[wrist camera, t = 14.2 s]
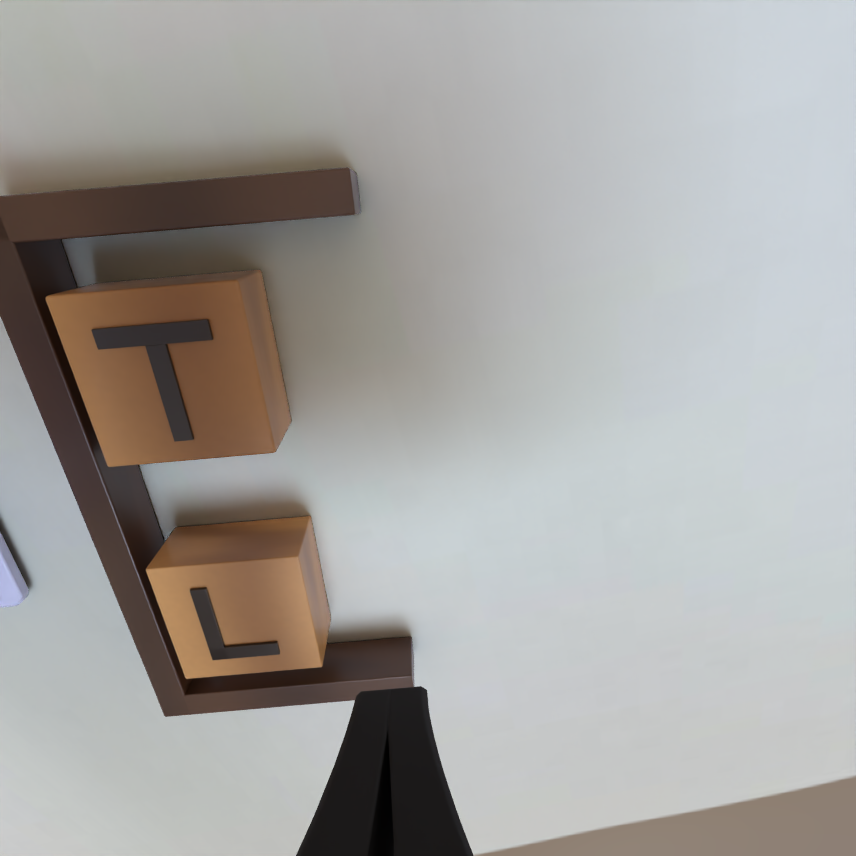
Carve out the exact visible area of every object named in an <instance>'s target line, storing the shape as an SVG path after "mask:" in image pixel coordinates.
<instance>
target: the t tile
mask: <svg viewBox="0 0 856 856" xmlns="http://www.w3.org/2000/svg"><path fill="white" fill-rule="evenodd" d="M46 302H47V305H48V307H49V310H50V313H51V315H52V318H53V321H54V323H55V326H56V329H57V331H58V334H59V337H60V339H61V342H62V345H63V348H64V350H65V353H66V356H67V358H68V361H69V364H70V366H71V369H72V372H73V374H74V377H75V380H76V383H77V385H78V388H79V391H80V393H81V396H82V399H83V401H84V404H85V407H86V409H87V412H88V415H89V417H90V420H91V423H92V426H93V428H94V431H95V434H96V436H97V439H98V442H99V444H100V447H101V450H102V452H103V455H104V458H105V460H106V463H107V466H108V467H116V466H127V465H139V464H150V463H162V462H173V461H185V460H196V459H208V458H219V457H231V456H242V455H254V454H265V453H274V452H276V450H277V448H278V446H279V445H280V443H281V441H282V439H283V437H284V435H285V433H286V431H287V429H288V427H289V426H290V424H291V416H290V411H289V406H288V401H287V396H286V391H285V386H284V381H283V376H282V371H281V366H280V361H279V356H278V351H277V346H276V341H275V336H274V331H273V326H272V321H271V316H270V311H269V306H268V301H267V296H266V291H265V286H264V281H263V276H262V272H261V270H247V271H235V272H223V273H212V274H200V275H188V276H176V277H164V278H153V279H141V280H129V281H117V282H106V283H95V284H91V285H87V286H83V287H79V288H75V289H71V290H68V291H64V292H60V293H56V294H52V295H48V296H46Z"/></svg>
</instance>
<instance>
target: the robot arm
mask: <svg viewBox="0 0 856 856" xmlns="http://www.w3.org/2000/svg"><path fill="white" fill-rule="evenodd" d="M28 593H29V590H28V587H27V585H26V583H25V581H24V579H23V577H22V575H21V573H20V571H19V569H18V567H17V565H16V563H15V561H14V559H13V557H12V554H11V552H10V550H9V548H8V546H7V544H6V542H5V540H4V538H3V536H2V534H1V532H0V607H10V606H16V605H19V604H20V603H21V602H22V601H23V600H24V599H25V598H26V597H27V596H28ZM296 856H473V853H472V851H471V848H470V846H469V843H468V840H467V838H466V835H465V833H464V830H463V827H462V825H461V822H460V819H459V816H458V813H457V811H456V808H455V805H454V802H453V799H452V796H451V793H450V790H449V787H448V784H447V781H446V777H445V774H444V771H443V768H442V764H441V761H440V758H439V754H438V750H437V746H436V742H435V738H434V734H433V730H432V725H431V720H430V715H429V708H428V697H427V690H426V689H424V688H423V687H421V686H420V687H408V688H396V689H384V690H372V691H361V692H360V693H359V694H358V695H357V696H356V699H355V703H354V707H353V711H352V714H351V718H350V721H349V724H348V727H347V731H346V734H345V737H344V740H343V743H342V745H341V748H340V751H339V754H338V757H337V759H336V762H335V765H334V768H333V770H332V773H331V775H330V778H329V780H328V783H327V785H326V788H325V790H324V793H323V795H322V798H321V800H320V803H319V805H318V808H317V810H316V812H315V815H314V817H313V820H312V822H311V824H310V826H309V828H308V831H307V833H306V835H305V837H304V839H303V842H302V844H301V846H300V848H299V850H298V853H297V855H296Z"/></svg>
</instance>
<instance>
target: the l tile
mask: <svg viewBox="0 0 856 856" xmlns="http://www.w3.org/2000/svg"><path fill="white" fill-rule="evenodd" d="M146 572H147V575H148V578H149V580H150V583H151V586H152V589H153V591H154V594H155V597H156V599H157V602H158V605H159V608H160V610H161V613H162V616H163V618H164V621H165V624H166V627H167V629H168V632H169V635H170V637H171V640H172V643H173V645H174V648H175V651H176V654H177V656H178V659H179V662H180V664H181V667H182V670H183V673H184V675H185V678H186V679H191V678H202V677H214V676H225V675H237V674H248V673H260V672H271V671H283V670H294V669H306V668H317V667H322V666H323V660H324V655H325V649H326V644H327V638H328V633H329V627H330V622H331V617H330V612H329V606H328V601H327V596H326V591H325V586H324V581H323V576H322V571H321V566H320V561H319V556H318V551H317V546H316V540H315V535H314V530H313V525H312V520H311V517H310V516H304V517H292V518H280V519H269V520H257V521H245V522H233V523H222V524H210V525H198V526H187V527H176V528H175V529H174V530H173V532H172V533H171V534H170V536H169V537H168V539H167V540H166V541H165V543H164V544H163V545H162V547H161V548H160V550H159V551H158V552H157V554H156V555H155V557H154V558H153V559H152V561H151V562H150V564H149V565H148V566H147V568H146Z"/></svg>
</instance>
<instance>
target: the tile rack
mask: <svg viewBox="0 0 856 856" xmlns="http://www.w3.org/2000/svg"><path fill="white" fill-rule="evenodd" d="M360 213H361V205H360V196H359V188H358V179H357V173H356V172H355V171H353V170H352V169H350V168H348V167H346V168H334V169H322V170H310V171H298V172H285V173H273V174H261V175H249V176H237V177H225V178H213V179H201V180H188V181H176V182H164V183H152V184H140V185H128V186H116V187H104V188H91V189H79V190H67V191H55V192H43V193H31V194H19V195H7V196H0V316H1V319H2V321H3V323H4V326H5V328H6V331H7V333H8V336H9V338H10V340H11V343H12V345H13V348H14V350H15V353H16V355H17V358H18V360H19V362H20V365H21V367H22V370H23V372H24V375H25V377H26V379H27V382H28V384H29V387H30V389H31V392H32V394H33V396H34V399H35V401H36V404H37V406H38V409H39V411H40V413H41V416H42V418H43V421H44V423H45V426H46V428H47V431H48V433H49V435H50V438H51V440H52V443H53V445H54V448H55V450H56V452H57V455H58V457H59V460H60V462H61V465H62V467H63V469H64V472H65V474H66V477H67V479H68V482H69V484H70V486H71V489H72V491H73V494H74V496H75V499H76V501H77V503H78V506H79V508H80V511H81V513H82V516H83V518H84V521H85V523H86V525H87V528H88V530H89V533H90V535H91V538H92V540H93V542H94V545H95V547H96V550H97V552H98V555H99V557H100V559H101V562H102V564H103V567H104V569H105V572H106V574H107V576H108V579H109V581H110V584H111V586H112V589H113V591H114V594H115V596H116V598H117V601H118V603H119V606H120V608H121V611H122V613H123V615H124V618H125V620H126V623H127V625H128V628H129V630H130V632H131V635H132V637H133V640H134V642H135V645H136V647H137V649H138V652H139V654H140V657H141V659H142V662H143V664H144V667H145V669H146V671H147V674H148V676H149V679H150V681H151V684H152V686H153V688H154V691H155V693H156V696H157V699H158V701H159V703H160V706H161V708H162V711H163V713H164V716H165V717H168V716H179V715H191V714H202V713H213V712H225V711H236V710H248V709H259V708H271V707H282V706H293V705H305V704H316V703H328V702H339V701H351V700H355V699H356V696H357V695H358V694H359V693H360V692H361V691H372V690H384V689H396V688H408V687H414V653H413V644H412V638H411V637H402V638H390V639H379V640H367V641H356V642H344V643H333V644H326V649H325V655H324V660H323V666H322V667H317V668H306V669H294V670H283V671H271V672H260V673H248V674H237V675H225V676H214V677H202V678H191V679H186V678H185V675H184V673H183V670H182V667H181V664H180V662H179V659H178V656H177V654H176V651H175V648H174V645H173V643H172V640H171V637H170V635H169V632H168V629H167V627H166V624H165V621H164V618H163V616H162V613H161V610H160V608H159V605H158V602H157V599H156V597H155V594H154V591H153V589H152V586H151V583H150V580H149V578H148V575H147V572H146V568H147V566H148V565H149V564H150V562H151V561H152V559H153V558H154V557H155V555H156V554H157V552H158V551H159V550H160V548H161V547H162V545H163V544H164V540H163V537H162V534H161V531H160V528H159V525H158V522H157V520H156V517H155V514H154V511H153V508H152V505H151V502H150V499H149V496H148V493H147V490H146V488H145V485H144V482H143V479H142V476H141V473H140V470H139V467H138V465H127V466H116V467H108V466H107V463H106V460H105V458H104V455H103V452H102V450H101V447H100V444H99V442H98V439H97V436H96V434H95V431H94V428H93V426H92V423H91V420H90V417H89V415H88V412H87V409H86V407H85V404H84V401H83V399H82V396H81V393H80V391H79V388H78V385H77V383H76V380H75V377H74V374H73V372H72V369H71V366H70V364H69V361H68V358H67V356H66V353H65V350H64V348H63V345H62V342H61V339H60V337H59V334H58V331H57V329H56V326H55V323H54V321H53V318H52V315H51V313H50V310H49V307H48V305H47V302H46V296H48V295H52V294H56V293H60V292H64V291H68V290H71V289H75V288H77V287H76V284H75V281H74V278H73V275H72V272H71V269H70V266H69V263H68V260H67V257H66V255H65V252H64V249H63V246H62V243H61V240H60V239H69V238H82V237H94V236H106V235H118V234H130V233H142V232H154V231H166V230H178V229H190V228H202V227H214V226H226V225H238V224H250V223H262V222H274V221H286V220H298V219H311V218H323V217H335V216H347V215H356V214H360Z"/></svg>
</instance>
